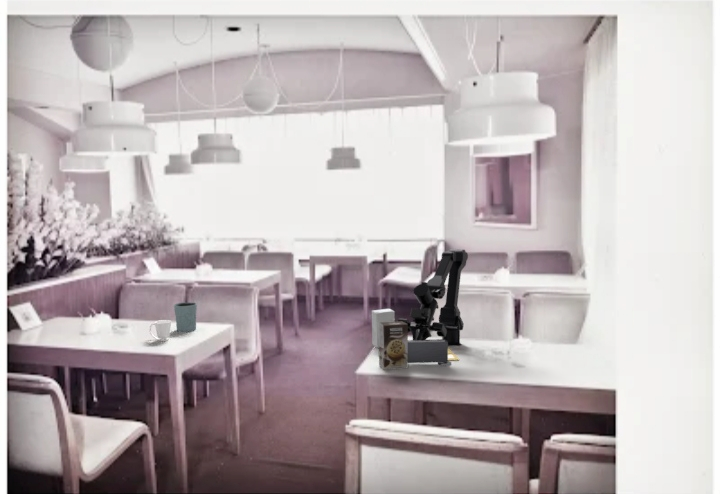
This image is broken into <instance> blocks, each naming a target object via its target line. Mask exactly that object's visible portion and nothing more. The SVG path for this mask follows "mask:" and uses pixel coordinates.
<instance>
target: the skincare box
mask: <svg viewBox="0 0 720 494" xmlns="http://www.w3.org/2000/svg"><path fill="white" fill-rule="evenodd" d="M395 314H396V311H394V310H393V309H391V308H382V309H376V310H371V333H372V334H371V335H372V336H371V337H372V341H371V343H372V346H373V347H375V348H377V349H379V323H380V322H396V321H395V320H396V319H395V318H396V317H395V316H396V315H395Z"/></svg>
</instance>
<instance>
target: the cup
mask: <svg viewBox="0 0 720 494" xmlns="http://www.w3.org/2000/svg"><path fill="white" fill-rule="evenodd" d="M153 325H154V326H155V332H156V335H157V336H155V335H154V333H153V332H152V327H153ZM171 326H172V320H169V319H160V320H156V321H155V322H153V323H151V325H150V326H149V329H148V330H149V334H150V336H151V337H152V338H154V339H156V340H158V342H166V341H169V337H170V334H171Z"/></svg>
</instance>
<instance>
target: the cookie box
mask: <svg viewBox="0 0 720 494" xmlns="http://www.w3.org/2000/svg"><path fill="white" fill-rule="evenodd" d="M408 337H409V333H408V324H406V323H405V322H403V321H395V322H380V323H379V348H378V350H379V351H378V365H379V367H380V368H381V369H382V370H384V371H387V370H386V369H388V370H398V369H408V368H409V367H408V364H409V363H408V361H407V360H408V340H409V338H408Z"/></svg>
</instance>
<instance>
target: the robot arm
mask: <svg viewBox="0 0 720 494" xmlns="http://www.w3.org/2000/svg"><path fill="white" fill-rule="evenodd" d="M468 258H469V254H468V252H467V251H466V250H465V249H460V248H459V249H458V248H450V249H449V250H447V251H443V252H442V253H441V259H440V261H439V264H438V266H437V268H436V270H435V272H434V275H433V277H432V278H430V279H429V280H428V281H427V282H425V281H422V282H421V283H420V284H418V285H416V286H415V287H414V289H413V294H414V296H415V297H416V300H417V301H418V302H419V303H418V304H420V307H419V308H416V307H415V308H413V307H411V308H410V312H409V314H410V315H409V318H412V321H409V319H408V318H397V321H403V322H405V323H406V324H408V334H409V333H410V332H411V334H412V340H428V338H432V333H433V332H436V335H437V336H438V337H441V339H444V340H446V341H447V342H448V346H458V345H459V346H460V345H461V344H462V343H461V342H460V341H461V338H460V337H461V331H463V330H464V322H463V320H462V317H461V311H460V309H459V307H458V304H459V303H458V301H459V293H460V292H459V291H460V284H461V283H460V282H461V276H462V275H461V274H462V271H463V269H464V268H465V267H466V264H467V261H468ZM447 279H448V281H447ZM446 281H447V289H446ZM445 294H446V296H445ZM444 296H445V297H446V298H445V304H444V305H443V306H442V307H439V304H438V301H437V300H441V299H443V298H444ZM439 308H440V309H439ZM437 309H439V312H440V313H439V315H438V322H437V321H436V322H434V320H435V318H434V315H435V313H436V310H437ZM397 321H396V322H397Z"/></svg>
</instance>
